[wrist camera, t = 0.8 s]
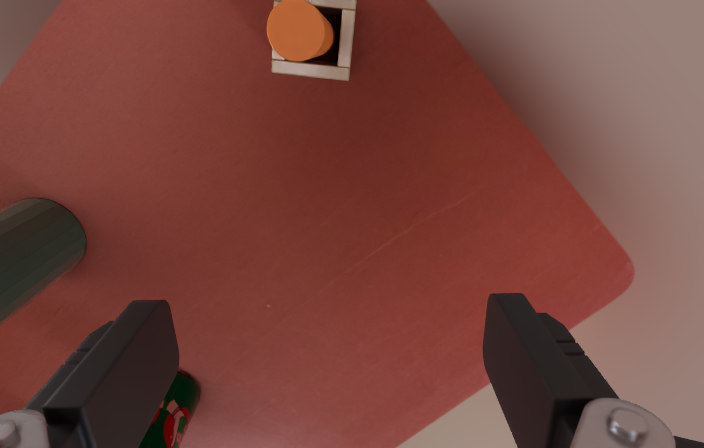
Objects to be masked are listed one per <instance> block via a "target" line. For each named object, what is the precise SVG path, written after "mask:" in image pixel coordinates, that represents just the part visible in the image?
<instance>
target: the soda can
mask: <svg viewBox="0 0 704 448" xmlns="http://www.w3.org/2000/svg"><path fill="white" fill-rule="evenodd" d="M199 398H200V393H199V390H198V387H197V386H196V384H195V383H194V382H193V381H192V380H191V379H190V378H189V377H187V376H185V375H183V374H179V373H177V374H176V377H175V379H174V381H173V382H172V384H171V386H170V388H169V390H168V392H167V394H166V396H165V398H164V400H163V402H162V403H161V405H160V407H159V409H158V411H157V413H156V415H155V417H154V419H153V421H152V423H151V424H150V426H149V428H148V430H147V432H146V434H145V436H144V438H143V440H142V442H141V444H140V445H139V447H138V448H179V446H180V444H181V442H182V439H183V437H184V435H185V432H186V430H187V428H188V425H189V423H190V421H191V418H192V416H193V413H194V411H195V409H196V406H197V404H198V402H199Z"/></svg>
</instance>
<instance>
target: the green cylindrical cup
mask: <svg viewBox="0 0 704 448" xmlns="http://www.w3.org/2000/svg"><path fill="white" fill-rule="evenodd" d="M85 250H86V237H85V233H84V230H83V228H82V226H81V224H80V223H79V221H78V220H77V219H76V218H75V216H74V215H73V214H72V213H71V212H69V211H68V210H67V209H66V208H64V207H63V206H61V205H59V204H57V203H55V202H52V201H50V200H46V199H40V198H29V199H24V200H21V201H19V202H15V203H13V204H11V205H9V206H7V207H5V208H2V209H0V326H1V325H3V324H4V323H5V322H6V321H8V320H9V319H10V318H11V317H12V316H14V315H15V314H16V313H17V312H19V311H20V310H21V309H22V308H24V307H25V306H26V305H27V304H29V303H30V302H31V301H32V300H34V299H35V298H36V297H37V296H39V295H40V294H41V293H42V292H44V291H45V290H46V289H47V288H49V287H50V286H51V285H52V284H54V283H55V282H56V281H57V280H59V279H60V278H61V277H62V276H64V275H65V274H66V273H67V272H69V271H70V270H71V269H72V268H74V267H75V265H77V264H78V263H79V262H80V261H81V259H82V258H83V256H84V253H85Z"/></svg>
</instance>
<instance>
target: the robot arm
mask: <svg viewBox="0 0 704 448" xmlns="http://www.w3.org/2000/svg"><path fill="white" fill-rule="evenodd" d="M483 359H484V365H485V369H486V372H487V374H488V377H489V379H490V382H491V384H492V386H493V389H494V391H495V393H496V396H497V398H498V401H499V403H500V405H501V408H502V411H503V413H504V415H505V418H506V420H507V423H508V425H509V427H510V430H511V432H512V435H513V437H514V439H515V442H516V444H517V447H518V448H704V443H702V442H698V441H694V440H689V439H685V438H681V437H677V436H673V435H672V433H671V431H670V430H669V428H668V427H667V426H666V425H665V424H664V423H663V422H662V421H661V420H660V419H659V418H658V417H657V416H655V415H654V414H653V413H651V412H650V411H648V410H646V409H644V408H643V407H640V406H638V405H636V404H634V403H631V402H628V401H625V400H621V399H619V397H618V396H617V395H616V393H615V392H614V391H613V389H612V388H611V387H610V385H609V384H608V383H607V381H606V380H605V379H604V378H603V376H602V375H601V373H600V372H599V371H598V370H597V368H596V367H595V366H594V364H593V363H592V362H591V360H590V359H589V358H588V356H585V354H584V351H583V350H582V348H581V347H580V346H579V344H578V343H575V339H574V338H573V337H572V335H571V334H570V333H569V331H568V330H567V329H566V327H565V326H564V325H563V324H561V323H560V322H558V321H557V320H556V319H554V318H553V317H551V316H550V315H548V314H547V313H536V312H535V310H534V309H533V307H532V306H531V304H530V303H529V301H528V300H527V299H526V297H525V296H524V295H523V294H522V293H501V294H490V296H489V298H488V303H487V312H486V321H485V330H484V340H483ZM178 366H179V349H178V344H177V339H176V334H175V329H174V325H173V320H172V315H171V310H170V306H169V304H168V302H167V301H166V300H135V301H132V302H131V303H130V304H129V305H128V306H127V307H126V309H125V310H124V311H123V312H122V313H121V314H120V316H119V317H118V318H117V319H116V320H115V321H109V322H108V323H106V324H105V325H103V326H102V327H100V328H99V329H97V330H96V331H94V332H92V333H91V334H90V335H89V336H88V337H87V338H86V339H85V340H84V341H83V342H82V344H81V345H80V346H79V347H78V348H77V351H76V352H74V353H73V354H72V355H71V356H70V357H69V358H68V359H67V360H66V361H65V365H62V366H61V367H60V368H59V369H58V370H57V372H56V373H55V374H54V375H53V376H52V377H51V378H50V379H49V380H48V382H47V383H46V384H45V385H44V386H43V387H42V388H41V389H40V391H39V392H38V393H37V394H36V395H35V396H34V397H33V398H32V399H31V401H30V402H29V403H28V404H27V405H26V406H25V407H24V408H23V410H16V411H11V412H7V413H4V414H1V415H0V448H138V447H139V445H140V444H141V442H142V440H143V438H144V436H145V434H146V432H147V430H148V428H149V426H150V424H151V423H152V421H153V419H154V417H155V415H156V413H157V411H158V409H159V407H160V405H161V403H162V402H163V400H164V398H165V396H166V394H167V392H168V390H169V388H170V386H171V384H172V382H173V381H174V379H175V377H176V374H177V371H178Z"/></svg>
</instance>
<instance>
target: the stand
mask: <svg viewBox="0 0 704 448" xmlns="http://www.w3.org/2000/svg"><path fill="white" fill-rule="evenodd" d="M281 1H283V0H275V1H274V7H275V6H276V5H277V4H278V3H280V2H281ZM306 1H308V2H310V3H311V4H313V5H314V6H315V7H316V8H317V9H318V10H319V11H320V13H322V14H330V15H339V16H342V18H341V29H340V41H339V52H338V62H331V61H322V60H313V59H308V60H305V61H298V62H297V61H290V60H287V59H285V58H283V57H282V56H280V55H279V54H278V53H277V52H276V51H275V50H274V49H273V47H272V59H273V60H272V73H277V74H287V75H296V76H305V77H314V78H323V79H332V80H342V81H349V75H350V65H351V55H352V44H353V34H354V24H355V14H356V3H357V0H306Z"/></svg>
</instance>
